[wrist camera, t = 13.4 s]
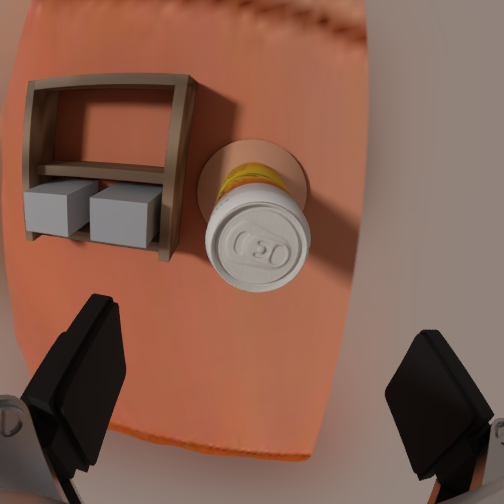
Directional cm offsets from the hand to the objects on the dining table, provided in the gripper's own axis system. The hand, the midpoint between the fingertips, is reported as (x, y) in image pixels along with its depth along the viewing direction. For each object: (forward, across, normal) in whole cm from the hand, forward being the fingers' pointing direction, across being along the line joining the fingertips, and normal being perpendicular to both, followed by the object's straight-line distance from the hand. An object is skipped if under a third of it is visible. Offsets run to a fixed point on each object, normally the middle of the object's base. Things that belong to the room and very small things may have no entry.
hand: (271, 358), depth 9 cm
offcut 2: (+24, +11, +4) cm, 27 cm away
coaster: (+24, 0, +1) cm, 24 cm away
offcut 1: (+24, +19, +4) cm, 31 cm away
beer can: (+24, 0, +1) cm, 24 cm away
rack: (+24, +15, -1) cm, 29 cm away
